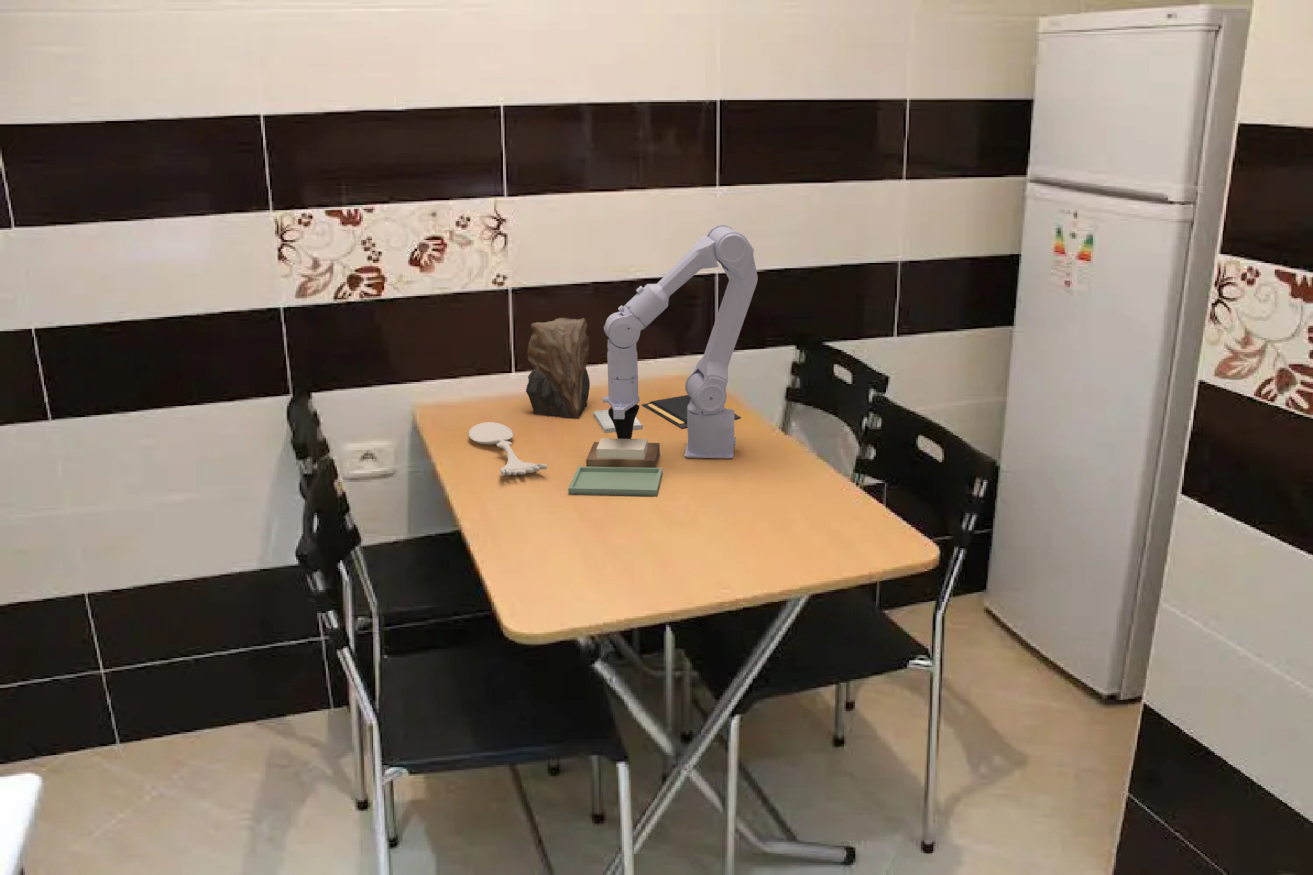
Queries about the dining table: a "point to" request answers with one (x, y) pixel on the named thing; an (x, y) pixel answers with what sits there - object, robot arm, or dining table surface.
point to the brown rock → (559, 368)
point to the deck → (648, 461)
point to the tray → (616, 481)
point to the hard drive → (607, 423)
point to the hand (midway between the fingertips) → (624, 443)
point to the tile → (622, 448)
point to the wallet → (673, 410)
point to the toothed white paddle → (500, 436)
